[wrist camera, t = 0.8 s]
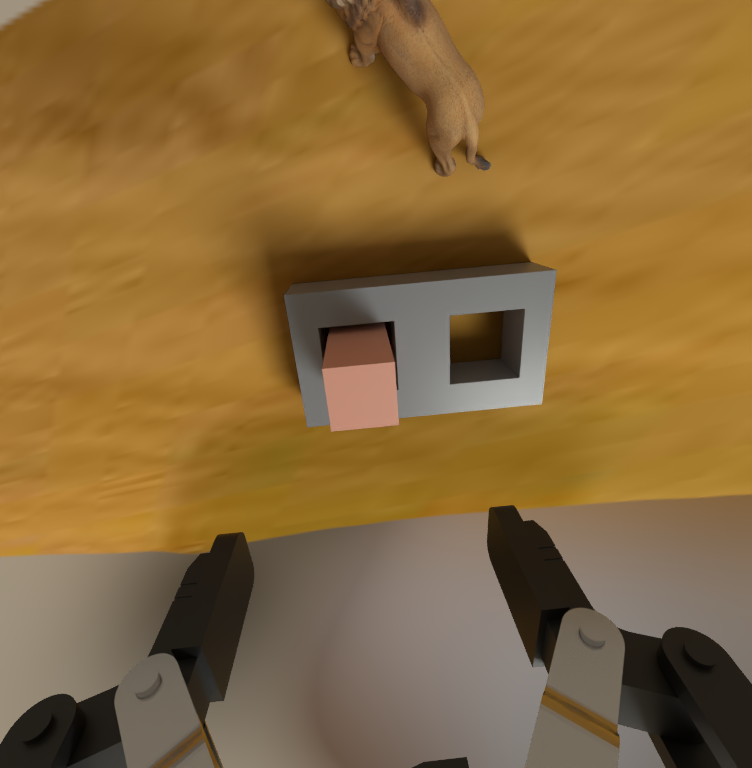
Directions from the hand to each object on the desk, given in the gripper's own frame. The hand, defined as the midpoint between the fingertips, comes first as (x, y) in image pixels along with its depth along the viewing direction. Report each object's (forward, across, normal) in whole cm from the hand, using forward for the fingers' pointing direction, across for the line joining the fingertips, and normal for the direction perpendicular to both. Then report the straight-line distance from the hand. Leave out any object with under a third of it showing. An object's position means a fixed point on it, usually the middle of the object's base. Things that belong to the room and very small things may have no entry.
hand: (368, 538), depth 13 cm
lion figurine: (+21, -4, -17) cm, 27 cm away
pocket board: (+20, -5, 0) cm, 21 cm away
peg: (+20, 0, 0) cm, 20 cm away
